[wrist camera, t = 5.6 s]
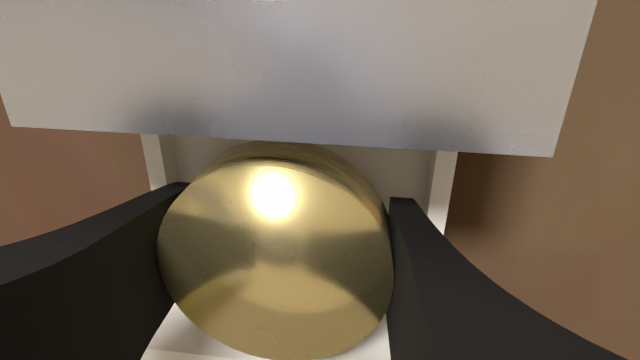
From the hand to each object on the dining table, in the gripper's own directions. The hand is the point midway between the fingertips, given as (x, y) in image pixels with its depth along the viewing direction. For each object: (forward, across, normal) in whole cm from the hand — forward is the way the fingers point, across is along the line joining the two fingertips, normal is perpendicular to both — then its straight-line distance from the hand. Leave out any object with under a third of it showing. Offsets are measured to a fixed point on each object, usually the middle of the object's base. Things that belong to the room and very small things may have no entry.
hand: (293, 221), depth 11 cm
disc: (-1, 0, 0) cm, 1 cm away
